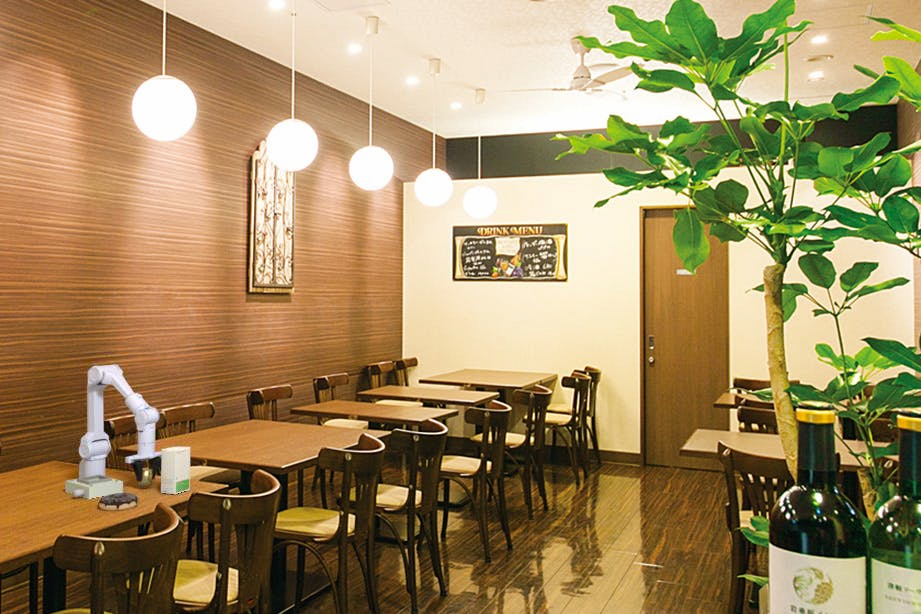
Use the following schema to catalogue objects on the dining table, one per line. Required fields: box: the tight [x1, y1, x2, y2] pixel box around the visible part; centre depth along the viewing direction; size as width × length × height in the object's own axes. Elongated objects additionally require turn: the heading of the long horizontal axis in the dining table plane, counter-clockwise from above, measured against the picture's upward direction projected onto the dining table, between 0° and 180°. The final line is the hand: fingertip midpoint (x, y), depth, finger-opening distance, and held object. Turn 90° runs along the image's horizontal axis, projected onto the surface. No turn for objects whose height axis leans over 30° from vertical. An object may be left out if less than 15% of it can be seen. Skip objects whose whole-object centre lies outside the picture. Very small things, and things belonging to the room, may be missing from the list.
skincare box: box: [160, 446, 192, 496], centre depth 260 cm, size 8×7×16 cm
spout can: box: [138, 467, 153, 487], centre depth 263 cm, size 6×4×6 cm
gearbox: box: [64, 475, 124, 500], centre depth 256 cm, size 16×15×5 cm
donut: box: [97, 492, 139, 512], centre depth 239 cm, size 11×12×4 cm
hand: (145, 480), depth 263 cm, fingers closed on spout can, 4 cm apart
